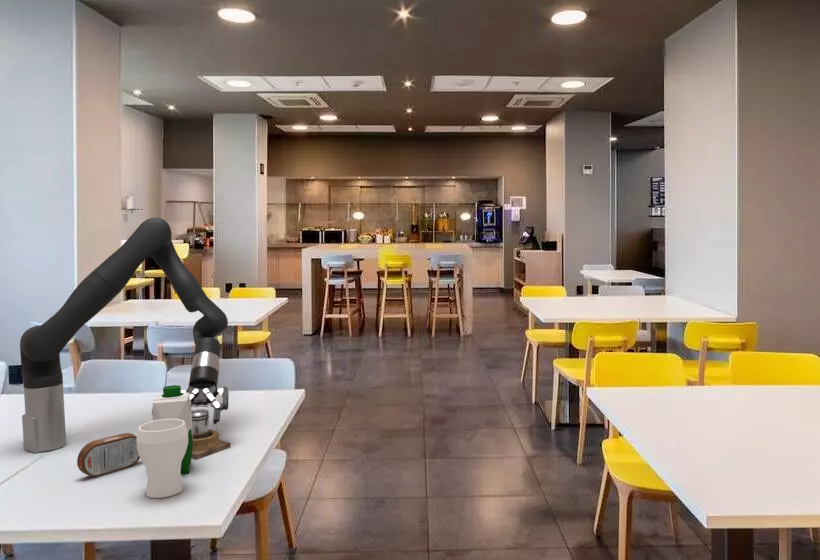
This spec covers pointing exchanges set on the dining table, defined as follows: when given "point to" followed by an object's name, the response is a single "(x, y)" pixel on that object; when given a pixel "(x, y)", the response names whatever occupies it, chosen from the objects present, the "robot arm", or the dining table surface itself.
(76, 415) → the dining table surface
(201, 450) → the ring board
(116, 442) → the tin
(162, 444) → the cup
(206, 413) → the salt shaker
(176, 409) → the milk carton
